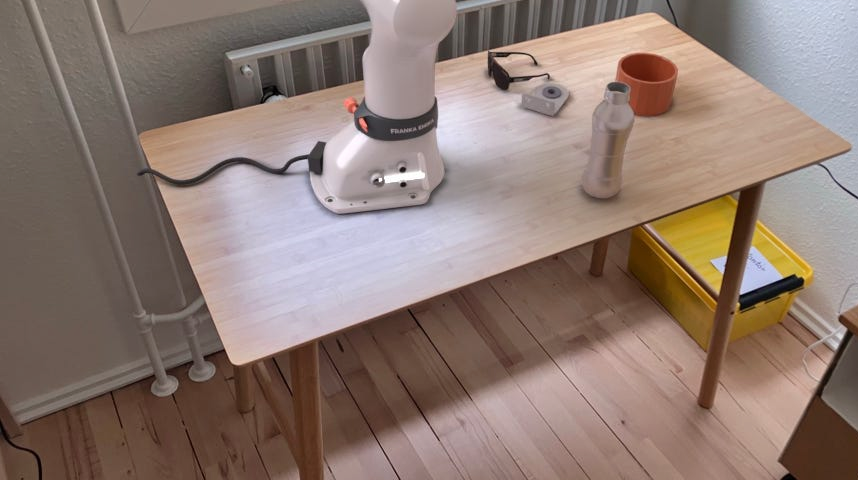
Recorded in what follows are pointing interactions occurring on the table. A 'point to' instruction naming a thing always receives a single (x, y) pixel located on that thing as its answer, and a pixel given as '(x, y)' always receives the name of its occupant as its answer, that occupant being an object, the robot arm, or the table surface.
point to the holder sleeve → (648, 82)
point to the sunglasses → (502, 75)
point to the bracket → (546, 98)
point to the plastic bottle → (608, 142)
